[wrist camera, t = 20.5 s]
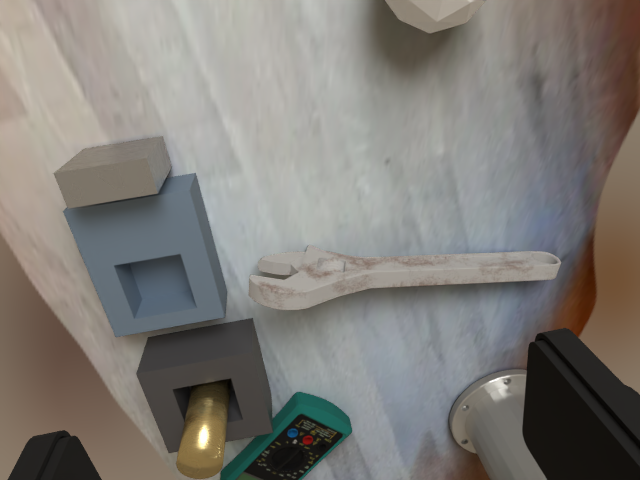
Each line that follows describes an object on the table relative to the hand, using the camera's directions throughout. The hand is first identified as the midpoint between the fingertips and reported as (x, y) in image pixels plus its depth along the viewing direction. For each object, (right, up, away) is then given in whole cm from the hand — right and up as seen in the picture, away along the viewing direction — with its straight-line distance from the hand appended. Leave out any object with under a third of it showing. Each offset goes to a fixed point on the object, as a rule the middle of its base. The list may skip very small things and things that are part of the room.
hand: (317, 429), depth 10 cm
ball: (+7, +23, +24) cm, 34 cm away
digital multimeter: (-4, -19, +44) cm, 48 cm away
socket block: (-14, +3, +31) cm, 34 cm away
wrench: (+8, +3, +34) cm, 36 cm away
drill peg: (-10, -9, +36) cm, 39 cm away
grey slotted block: (-11, -9, +37) cm, 40 cm away
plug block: (-14, +8, +28) cm, 32 cm away
